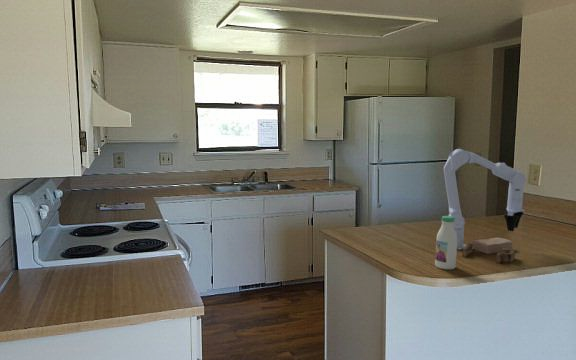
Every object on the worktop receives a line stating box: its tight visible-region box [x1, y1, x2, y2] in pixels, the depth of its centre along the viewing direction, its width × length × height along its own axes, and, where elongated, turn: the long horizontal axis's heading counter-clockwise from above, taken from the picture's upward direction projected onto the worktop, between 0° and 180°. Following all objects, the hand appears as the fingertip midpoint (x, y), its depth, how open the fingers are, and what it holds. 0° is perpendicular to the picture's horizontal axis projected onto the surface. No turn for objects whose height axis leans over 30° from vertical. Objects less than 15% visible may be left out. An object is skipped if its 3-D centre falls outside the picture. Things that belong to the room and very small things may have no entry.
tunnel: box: [461, 243, 516, 264], centre depth 186 cm, size 18×11×4 cm, turn 52°
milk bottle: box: [434, 215, 458, 270], centre depth 173 cm, size 8×8×20 cm
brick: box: [472, 237, 513, 255], centre depth 198 cm, size 16×8×5 cm, turn 116°
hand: (512, 229), depth 195 cm, fingers open, 7 cm apart
